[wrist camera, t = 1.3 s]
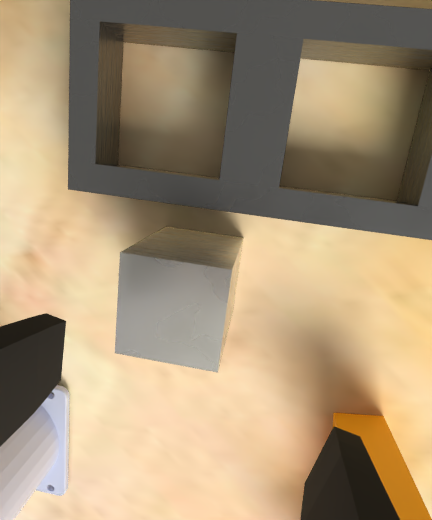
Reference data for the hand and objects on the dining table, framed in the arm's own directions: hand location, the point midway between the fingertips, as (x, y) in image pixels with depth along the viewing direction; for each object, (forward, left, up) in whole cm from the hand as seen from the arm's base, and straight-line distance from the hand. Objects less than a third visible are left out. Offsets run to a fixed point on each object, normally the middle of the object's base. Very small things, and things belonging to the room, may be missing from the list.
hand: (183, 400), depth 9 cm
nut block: (-1, 0, -10) cm, 10 cm away
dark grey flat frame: (+1, +8, -10) cm, 13 cm away
